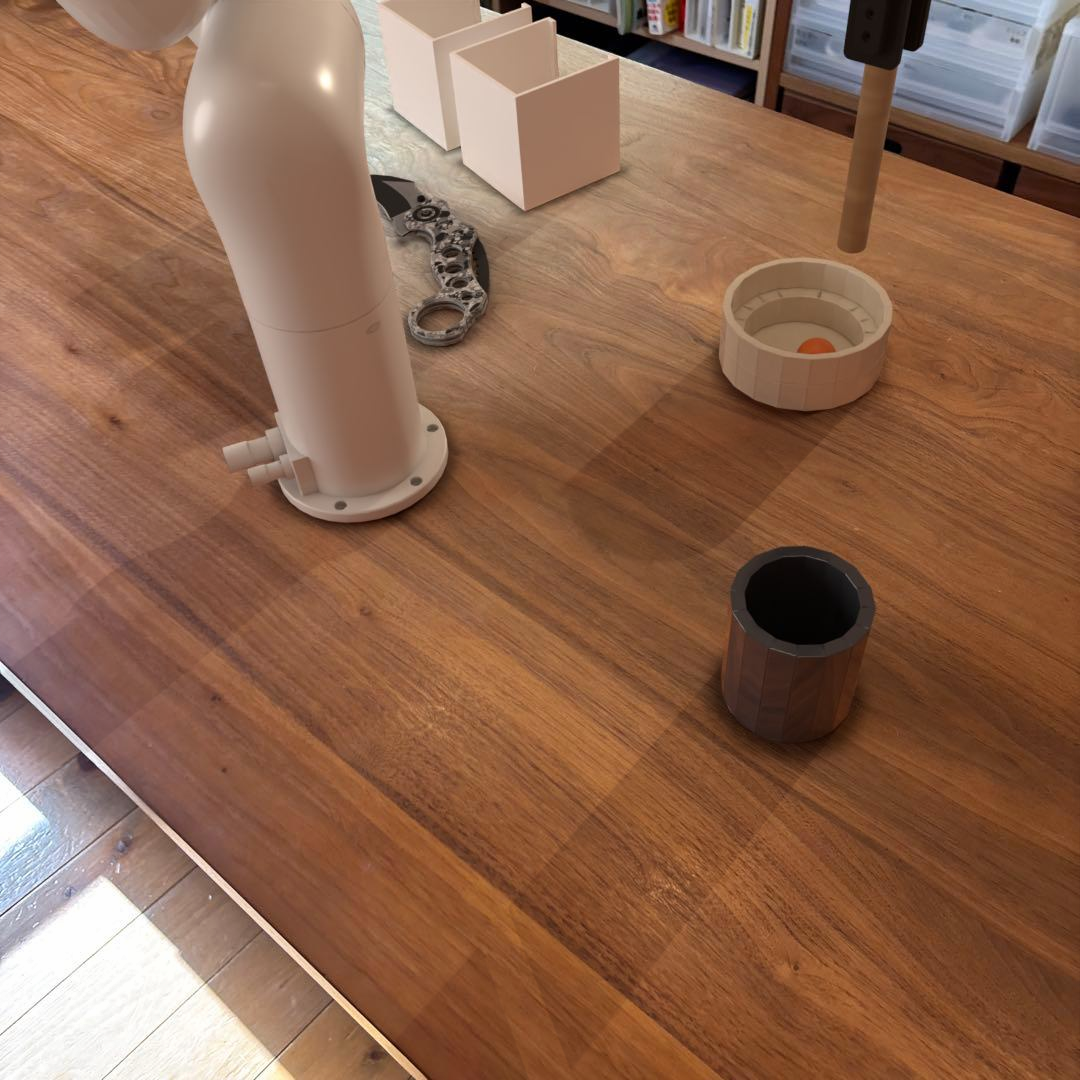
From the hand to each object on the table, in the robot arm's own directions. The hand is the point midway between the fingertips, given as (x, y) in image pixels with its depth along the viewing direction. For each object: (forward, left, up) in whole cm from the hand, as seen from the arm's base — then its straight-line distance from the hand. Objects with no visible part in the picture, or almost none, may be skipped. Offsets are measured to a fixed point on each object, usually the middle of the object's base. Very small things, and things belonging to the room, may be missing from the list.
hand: (882, 51), depth 61 cm
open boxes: (-7, +49, -27) cm, 57 cm away
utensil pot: (-14, -20, -27) cm, 37 cm away
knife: (-20, +34, -27) cm, 48 cm away
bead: (+2, +4, -25) cm, 25 cm away
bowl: (+2, +6, -27) cm, 28 cm away
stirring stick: (0, 0, -13) cm, 13 cm away
